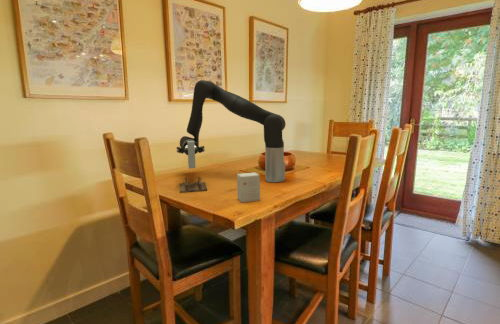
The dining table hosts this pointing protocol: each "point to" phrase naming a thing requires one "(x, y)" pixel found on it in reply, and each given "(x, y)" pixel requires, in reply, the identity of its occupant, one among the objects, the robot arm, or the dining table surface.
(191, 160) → the grey rectangular block
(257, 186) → the small box
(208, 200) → the dining table surface
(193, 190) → the rack
